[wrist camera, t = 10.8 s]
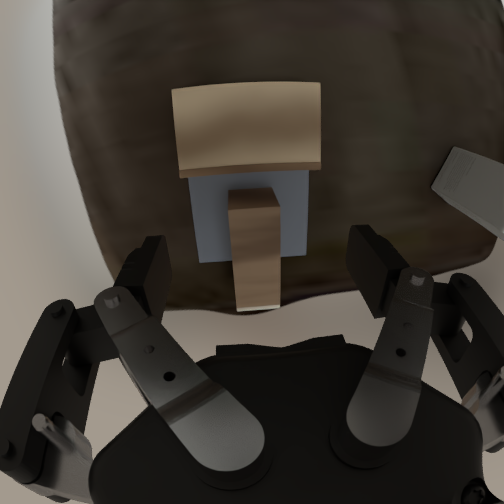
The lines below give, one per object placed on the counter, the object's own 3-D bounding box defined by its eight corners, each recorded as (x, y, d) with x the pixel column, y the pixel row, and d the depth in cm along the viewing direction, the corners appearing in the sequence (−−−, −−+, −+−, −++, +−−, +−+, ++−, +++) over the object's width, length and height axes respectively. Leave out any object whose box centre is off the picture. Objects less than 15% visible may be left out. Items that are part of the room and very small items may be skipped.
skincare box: (448, 204, 29) (516, 255, 19) (427, 185, 28) (500, 235, 17) (471, 163, 27) (545, 202, 16) (452, 141, 25) (532, 176, 15)
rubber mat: (187, 166, 26) (186, 166, 25) (308, 158, 26) (308, 159, 26) (199, 261, 31) (199, 262, 30) (305, 253, 31) (305, 254, 31)
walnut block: (227, 209, 23) (237, 311, 27) (280, 206, 23) (279, 307, 28) (228, 190, 27) (235, 280, 32) (271, 187, 27) (273, 277, 32)
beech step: (180, 90, 22) (171, 89, 19) (307, 84, 23) (321, 82, 19) (187, 166, 26) (179, 178, 22) (308, 158, 26) (320, 169, 23)
